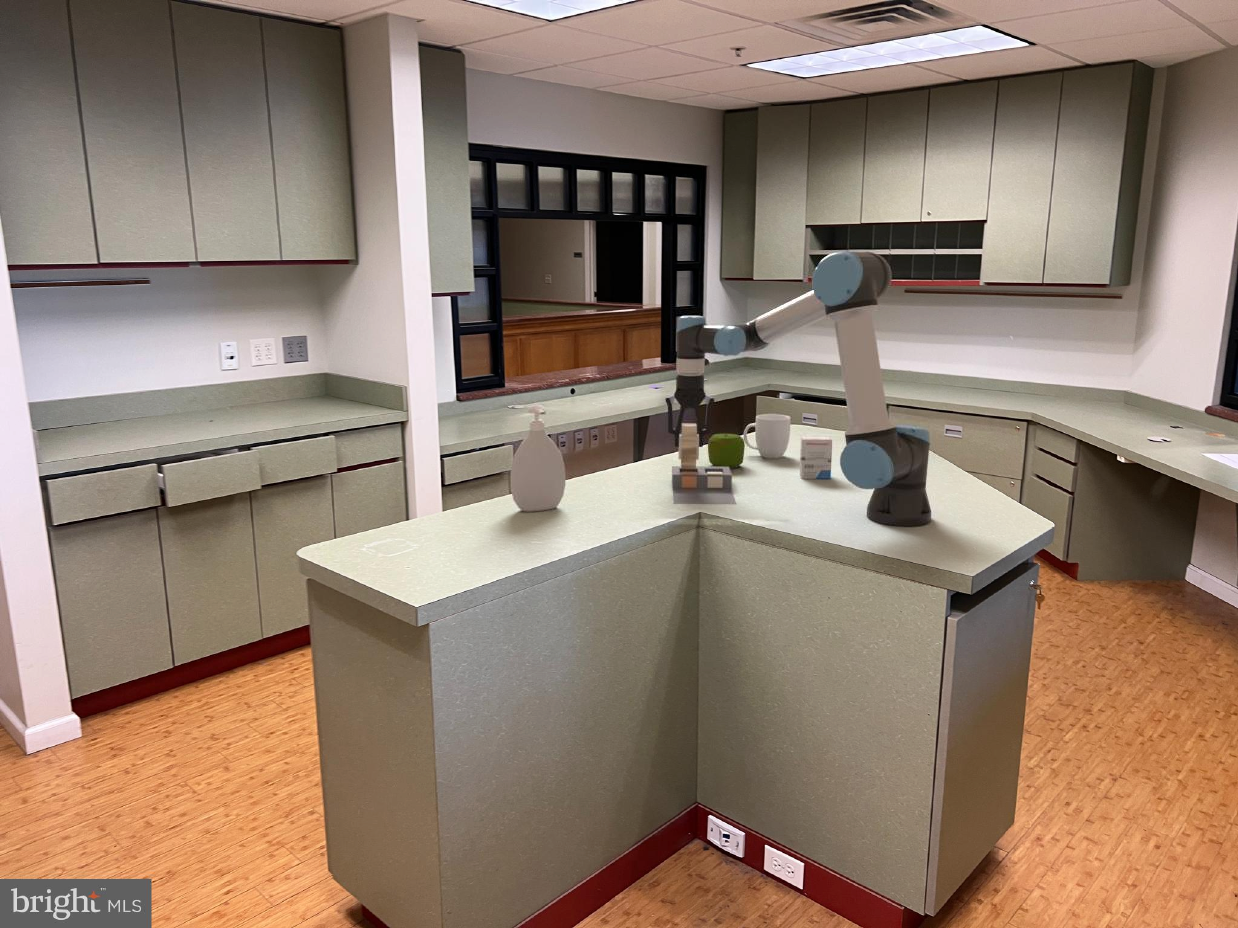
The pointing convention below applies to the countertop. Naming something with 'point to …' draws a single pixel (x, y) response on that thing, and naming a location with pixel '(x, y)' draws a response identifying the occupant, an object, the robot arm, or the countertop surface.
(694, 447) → the birch plug
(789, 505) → the countertop surface
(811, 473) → the ink box
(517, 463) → the soap bottle
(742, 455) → the apple
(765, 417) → the mug
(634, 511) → the countertop surface
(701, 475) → the socket station
